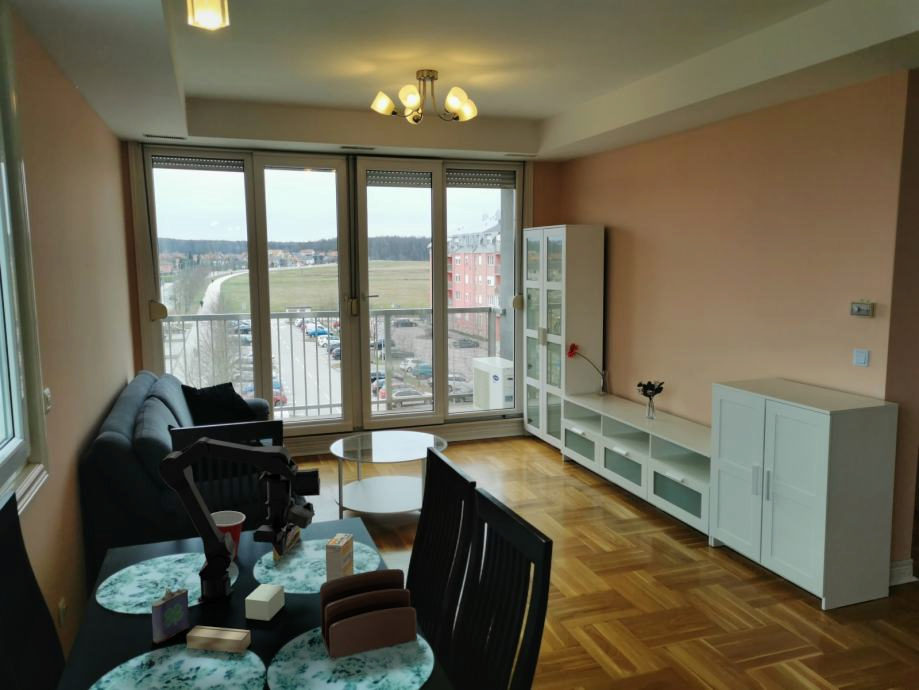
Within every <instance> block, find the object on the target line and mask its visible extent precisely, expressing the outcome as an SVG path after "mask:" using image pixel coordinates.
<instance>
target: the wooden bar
mask: <svg viewBox="0 0 919 690" xmlns="http://www.w3.org/2000/svg"><path fill="white" fill-rule="evenodd" d="M251 641H252V640H251V630H246V629H239V628H228V627H227V628H226V627H214V626H206V625H205V626H204V625H195V626H194V627H193V628H192V629H191V630H190V631H189V632H188V633H187V634H186V648H187V649H197V650H206V651H207V650H208V651H215V650H220V651H219V652H225V651H228V652H227V653H236V652H238V653H237V654H242V652H243V653H244V652H245V650H246V649H247V648H248V647H249V646H250V644H251Z"/></svg>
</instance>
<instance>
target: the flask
mask: <svg viewBox="0 0 919 690" xmlns="http://www.w3.org/2000/svg"><path fill="white" fill-rule="evenodd" d="M164 591H165V594H164V596H162V597H161V598H159V599H157V600H155V601H154V602H152V604H151V605H150V606H151V607H150V608H151V620H152V621H151V624H152V640H153V641H152V642H153V643H154V644H155V643H156V644H159V643H162V642H164V641H167V639H168V640H169V638H172V637H173V636H175V635H176V634H177V633H180V632H182V631H184V630H185V629H188V628H189V626H190V623H189V622H190V619H189V617H190V616H189V611H190V610H189V596H188V595H189V590H188V589H186V588H180V589H179V588H178V589H177V590H175V591H173V590H171V588H169V587H166V588H165V589H164Z"/></svg>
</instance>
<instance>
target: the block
mask: <svg viewBox="0 0 919 690" xmlns="http://www.w3.org/2000/svg"><path fill="white" fill-rule="evenodd" d="M244 600H245V601H244V602H245V605H244V606H245V618H246V619H252V620H260V621H268V622H269V621H270V620H271V619H272V618H273V617H274V616H275V615H276V614H277V613H278V612H279V611H280V610H281V609H282V608H283V606H285V586H284V585H278V584H268V583H261V584H260V585H258V586H257V587H256V588H255V589H254V590H253V591H252V592H251V593H250V594H249V595H248V596H246V598H244Z"/></svg>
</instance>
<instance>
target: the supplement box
mask: <svg viewBox="0 0 919 690" xmlns="http://www.w3.org/2000/svg"><path fill="white" fill-rule="evenodd" d="M325 567H326V568H325V569H326V572H325V573H326V575H325V576H326V582H328V581H331V580H334V579H338V578H342V577H346V576H350V575H354V574H355V570H354V568H355V566H354V534H352V533H339V532H337V533H336V534H335V535H334V536H333V537H332V538H331V539H330V540H329V541H328V542H327V543H326V544H325Z"/></svg>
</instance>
